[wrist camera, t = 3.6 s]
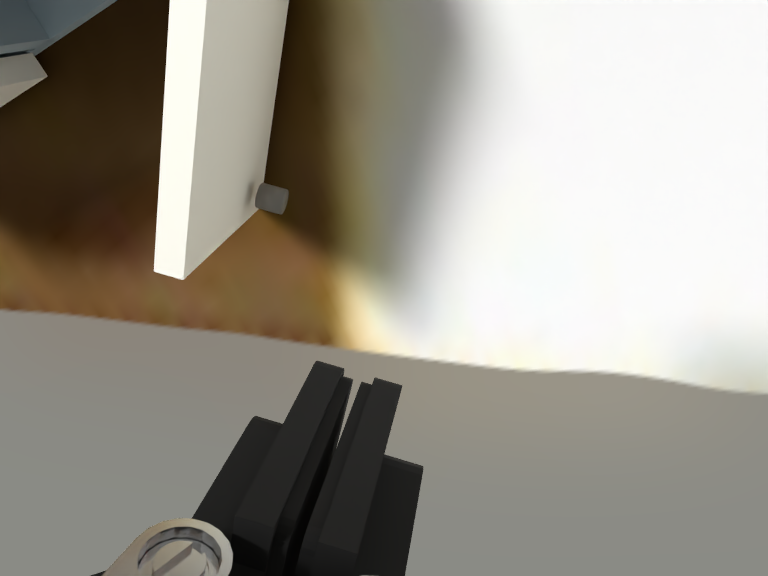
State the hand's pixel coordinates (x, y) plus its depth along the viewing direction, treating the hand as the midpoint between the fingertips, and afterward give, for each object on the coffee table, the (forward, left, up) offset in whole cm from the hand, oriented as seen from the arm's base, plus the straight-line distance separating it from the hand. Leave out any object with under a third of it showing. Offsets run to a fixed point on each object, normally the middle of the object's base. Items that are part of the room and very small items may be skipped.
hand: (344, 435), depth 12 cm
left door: (+3, -7, -15) cm, 17 cm away
